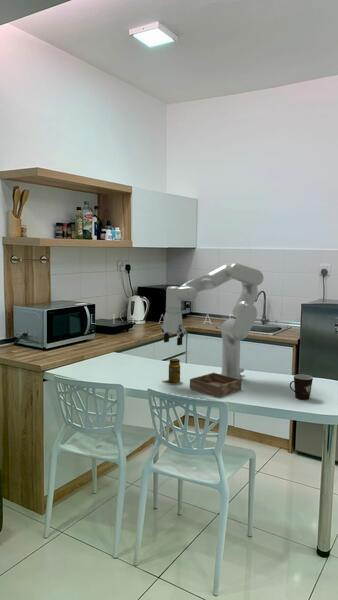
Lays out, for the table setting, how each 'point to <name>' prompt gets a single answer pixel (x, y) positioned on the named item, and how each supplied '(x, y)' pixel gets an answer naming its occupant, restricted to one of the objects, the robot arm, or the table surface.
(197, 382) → the crate
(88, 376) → the table surface
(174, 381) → the condiment
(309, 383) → the coffee mug
